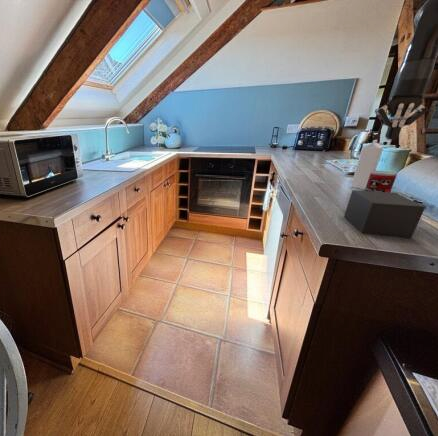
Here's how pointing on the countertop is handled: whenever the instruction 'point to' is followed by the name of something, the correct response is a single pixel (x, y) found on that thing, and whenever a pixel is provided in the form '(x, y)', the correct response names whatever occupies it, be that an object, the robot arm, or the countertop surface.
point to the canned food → (380, 181)
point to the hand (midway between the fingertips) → (390, 139)
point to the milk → (366, 164)
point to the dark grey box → (383, 213)
